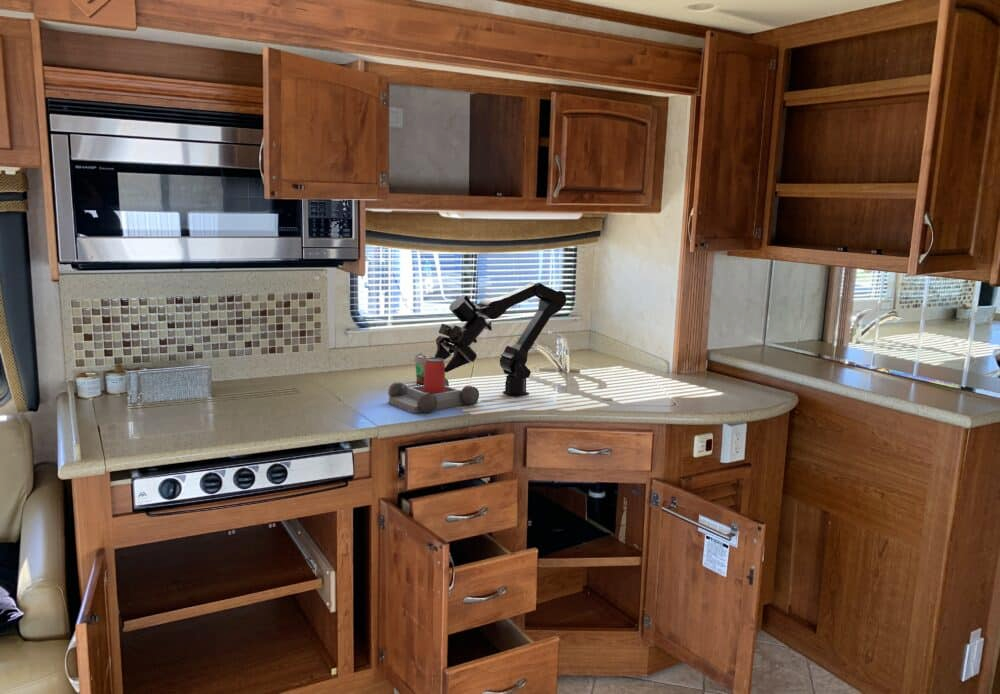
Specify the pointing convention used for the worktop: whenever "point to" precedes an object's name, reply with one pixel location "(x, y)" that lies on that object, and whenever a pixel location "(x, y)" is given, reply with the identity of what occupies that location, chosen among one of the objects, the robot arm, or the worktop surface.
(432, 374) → the beer can
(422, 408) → the chassis
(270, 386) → the worktop surface
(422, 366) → the food container
